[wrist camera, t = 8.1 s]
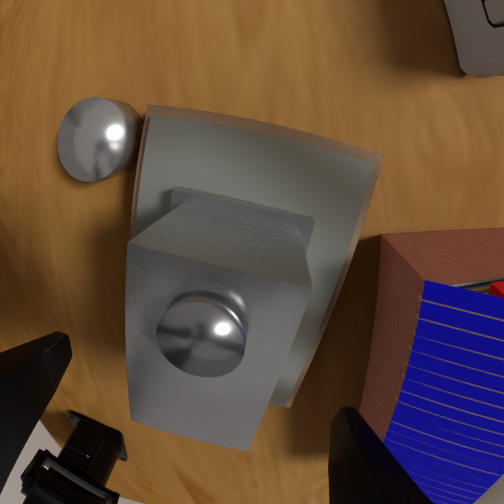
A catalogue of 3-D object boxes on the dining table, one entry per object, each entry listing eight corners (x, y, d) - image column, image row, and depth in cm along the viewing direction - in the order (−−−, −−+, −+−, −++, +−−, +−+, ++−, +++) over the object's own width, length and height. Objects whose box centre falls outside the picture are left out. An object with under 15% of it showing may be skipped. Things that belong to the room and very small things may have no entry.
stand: (289, 387, 20) (289, 413, 18) (139, 350, 20) (125, 372, 18) (370, 153, 14) (386, 156, 12) (162, 108, 14) (143, 103, 12)
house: (347, 442, 23) (360, 552, 12) (374, 227, 16) (497, 369, 5) (458, 418, 21) (494, 507, 10) (521, 221, 14) (638, 295, 4)
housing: (264, 369, 16) (254, 472, 10) (161, 344, 16) (115, 434, 10) (312, 217, 13) (342, 289, 7) (179, 186, 13) (97, 229, 7)
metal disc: (138, 180, 16) (118, 187, 14) (78, 170, 16) (54, 176, 14) (151, 103, 14) (131, 98, 12) (88, 100, 14) (64, 97, 12)
